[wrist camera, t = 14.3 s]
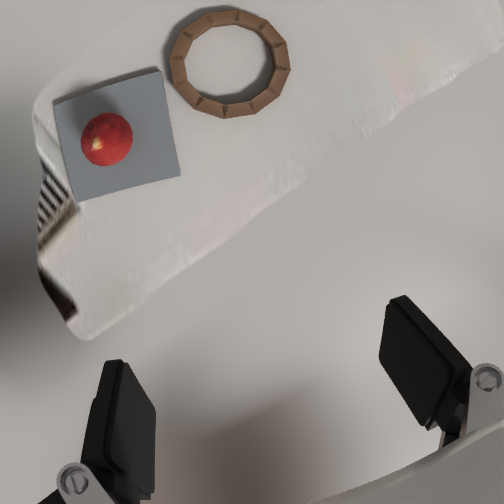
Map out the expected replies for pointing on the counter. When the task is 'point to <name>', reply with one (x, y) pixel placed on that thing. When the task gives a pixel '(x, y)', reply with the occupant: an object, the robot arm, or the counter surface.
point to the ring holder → (224, 19)
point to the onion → (106, 139)
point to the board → (144, 136)
